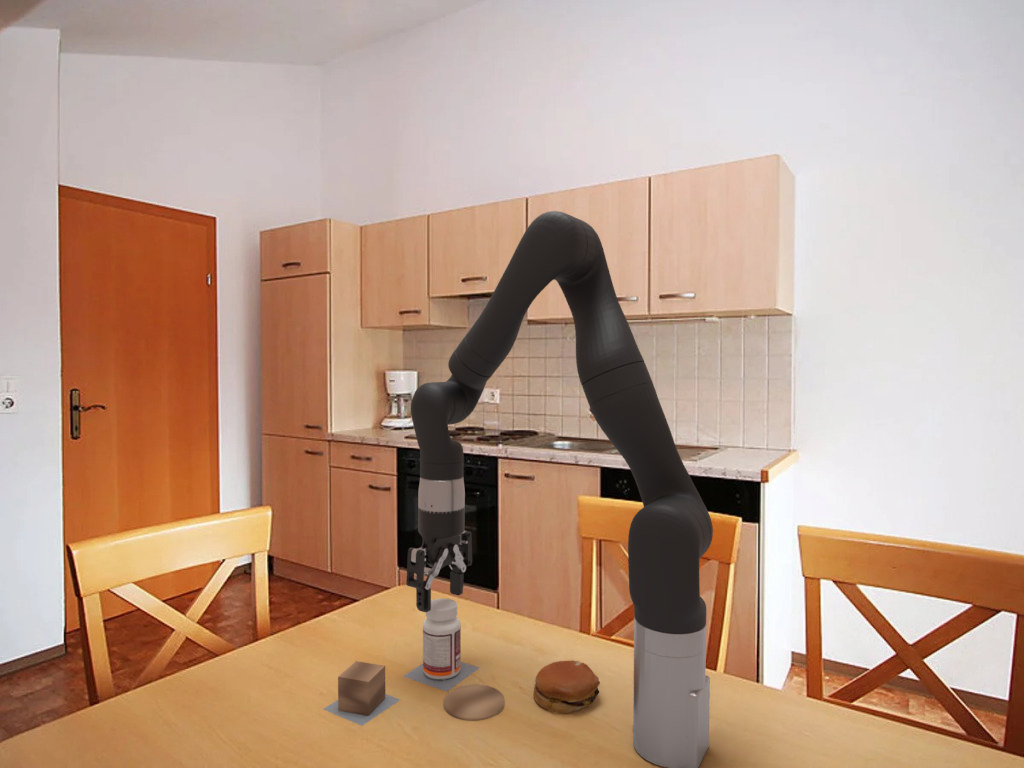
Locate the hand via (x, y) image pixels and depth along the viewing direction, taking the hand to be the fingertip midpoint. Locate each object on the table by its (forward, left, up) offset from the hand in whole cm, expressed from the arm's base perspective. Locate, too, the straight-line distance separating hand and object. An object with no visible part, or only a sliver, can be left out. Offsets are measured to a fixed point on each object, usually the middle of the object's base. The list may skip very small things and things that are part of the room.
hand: (440, 602), depth 103 cm
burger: (-21, -4, -12) cm, 25 cm away
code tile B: (+4, +14, -12) cm, 19 cm away
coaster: (-10, +5, -12) cm, 16 cm away
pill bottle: (0, 0, -12) cm, 12 cm away
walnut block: (+4, +14, -12) cm, 19 cm away
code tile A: (0, 0, -12) cm, 12 cm away
